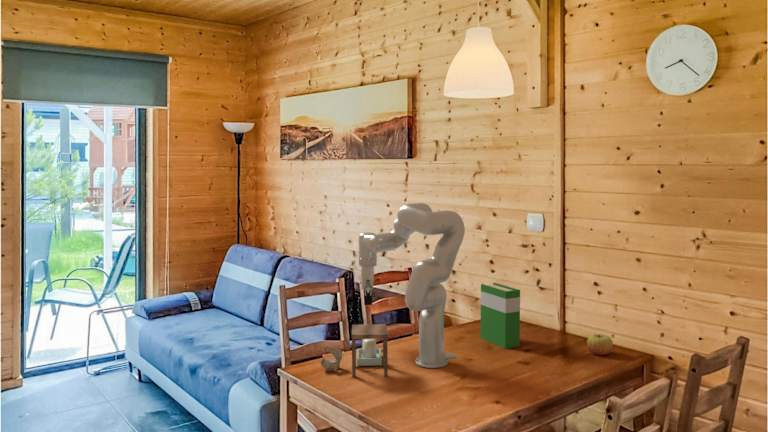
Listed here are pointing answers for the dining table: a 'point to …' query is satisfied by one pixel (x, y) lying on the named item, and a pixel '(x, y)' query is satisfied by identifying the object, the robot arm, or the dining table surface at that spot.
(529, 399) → the dining table surface
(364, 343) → the pale upright block
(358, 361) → the grey armchair
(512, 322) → the hardback book
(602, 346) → the apple
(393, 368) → the dining table surface
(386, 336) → the small wooden stool
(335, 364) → the grey curved piece
